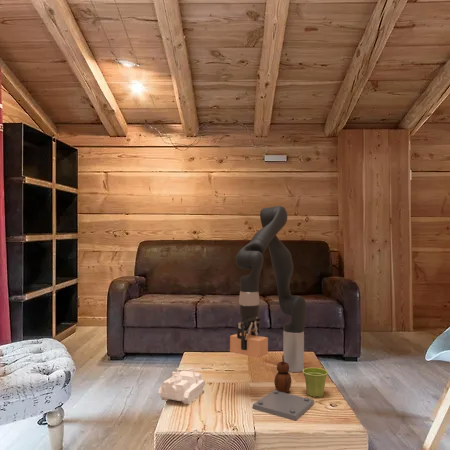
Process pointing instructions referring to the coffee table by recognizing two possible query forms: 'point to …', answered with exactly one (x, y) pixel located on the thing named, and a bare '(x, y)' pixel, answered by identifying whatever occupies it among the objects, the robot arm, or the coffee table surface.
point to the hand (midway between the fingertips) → (248, 347)
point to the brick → (250, 345)
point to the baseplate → (283, 404)
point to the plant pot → (315, 381)
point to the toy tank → (182, 386)
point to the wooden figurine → (282, 377)
